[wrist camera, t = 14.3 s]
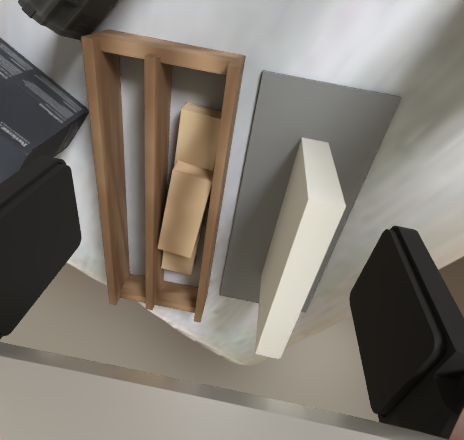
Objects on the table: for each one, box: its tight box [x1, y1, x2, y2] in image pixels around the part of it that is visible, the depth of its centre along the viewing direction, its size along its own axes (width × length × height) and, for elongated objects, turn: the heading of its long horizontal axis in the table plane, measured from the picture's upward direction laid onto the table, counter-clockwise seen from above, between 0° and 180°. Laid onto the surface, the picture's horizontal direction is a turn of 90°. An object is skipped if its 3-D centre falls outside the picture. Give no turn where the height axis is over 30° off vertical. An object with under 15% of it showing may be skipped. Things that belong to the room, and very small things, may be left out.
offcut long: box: [161, 102, 222, 276], centre depth 43 cm, size 4×24×3 cm, turn 167°
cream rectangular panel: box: [255, 137, 346, 359], centre depth 38 cm, size 3×22×13 cm, turn 171°
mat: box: [220, 70, 401, 312], centre depth 43 cm, size 14×34×1 cm, turn 171°
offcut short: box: [158, 160, 214, 258], centre depth 41 cm, size 4×12×2 cm, turn 164°
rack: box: [81, 30, 245, 322], centre depth 41 cm, size 14×36×6 cm, turn 171°
